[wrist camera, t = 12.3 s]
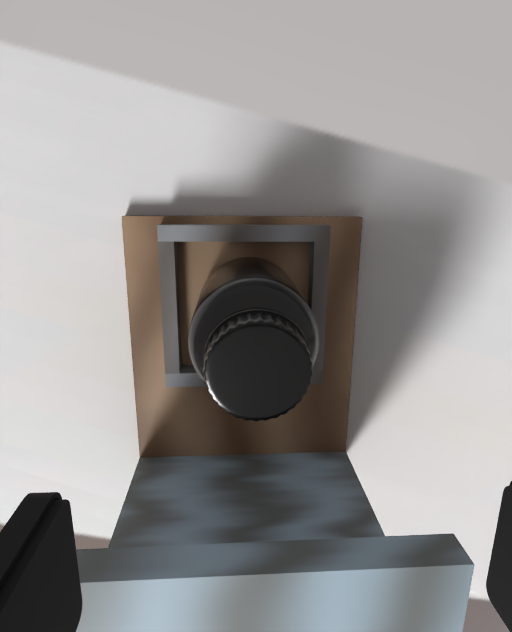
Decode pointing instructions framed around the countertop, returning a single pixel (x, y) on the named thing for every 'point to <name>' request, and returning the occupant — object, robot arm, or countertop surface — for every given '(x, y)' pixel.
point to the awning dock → (254, 465)
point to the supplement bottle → (253, 339)
